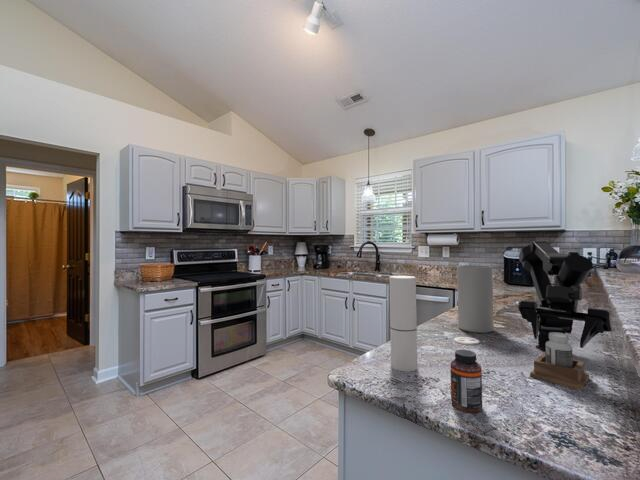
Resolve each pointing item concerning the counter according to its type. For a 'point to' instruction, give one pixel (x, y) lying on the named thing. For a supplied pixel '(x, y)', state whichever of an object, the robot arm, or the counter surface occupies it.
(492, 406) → the counter surface
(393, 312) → the cylindrical container
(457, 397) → the supplement bottle
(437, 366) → the counter surface
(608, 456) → the counter surface
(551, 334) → the pill bottle
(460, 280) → the cylinder vase
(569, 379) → the socket block
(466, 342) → the pendant
